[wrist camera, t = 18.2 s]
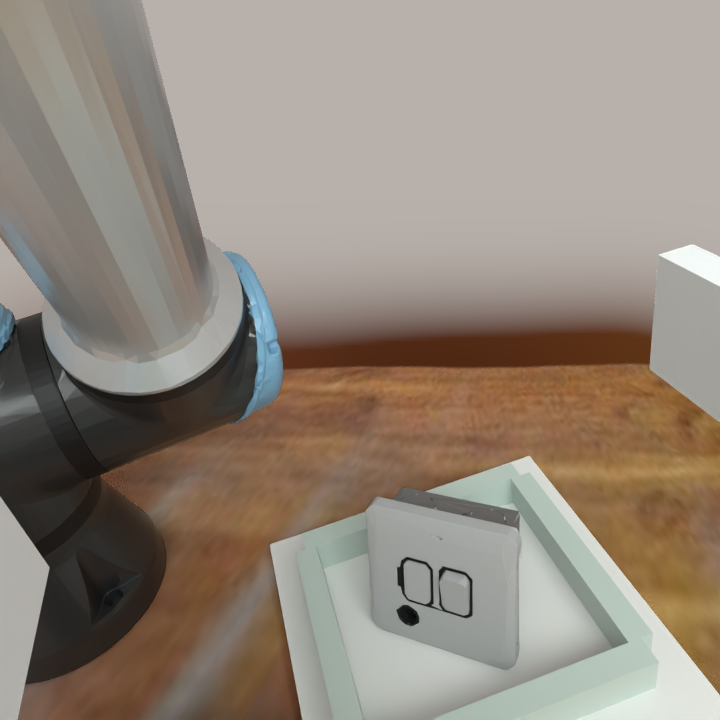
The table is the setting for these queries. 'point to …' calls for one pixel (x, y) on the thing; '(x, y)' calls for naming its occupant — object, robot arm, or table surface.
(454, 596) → the electrical switch
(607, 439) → the table surface
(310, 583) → the pocket tray
